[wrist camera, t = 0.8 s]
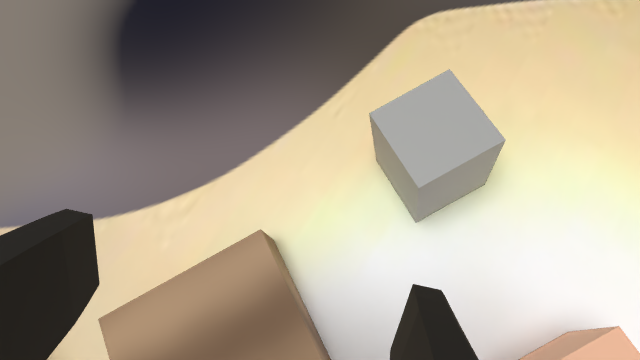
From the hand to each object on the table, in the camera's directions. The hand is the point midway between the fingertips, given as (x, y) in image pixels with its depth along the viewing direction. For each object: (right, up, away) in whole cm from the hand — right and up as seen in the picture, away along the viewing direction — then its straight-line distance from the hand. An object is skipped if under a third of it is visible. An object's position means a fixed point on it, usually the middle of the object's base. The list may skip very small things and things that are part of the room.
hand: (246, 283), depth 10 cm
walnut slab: (-3, -8, +15) cm, 18 cm away
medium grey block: (+8, +3, +17) cm, 19 cm away
